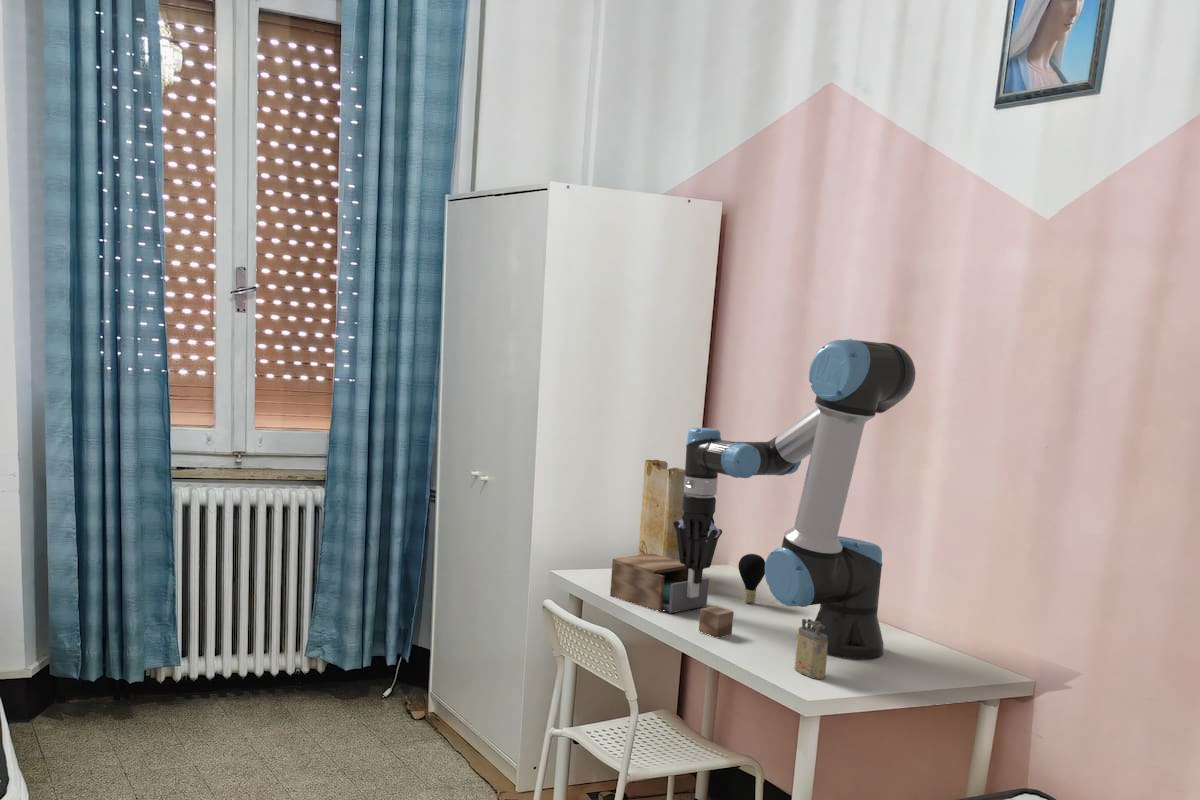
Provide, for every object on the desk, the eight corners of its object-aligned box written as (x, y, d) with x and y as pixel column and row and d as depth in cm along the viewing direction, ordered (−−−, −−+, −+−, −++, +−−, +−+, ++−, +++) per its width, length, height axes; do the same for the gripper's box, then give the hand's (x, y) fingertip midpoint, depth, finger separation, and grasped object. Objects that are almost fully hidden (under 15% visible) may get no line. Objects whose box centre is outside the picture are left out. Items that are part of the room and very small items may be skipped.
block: (731, 634, 209) (733, 611, 209) (716, 638, 206) (718, 614, 206) (713, 628, 213) (715, 605, 213) (698, 632, 209) (700, 609, 209)
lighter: (829, 678, 184) (833, 626, 184) (813, 680, 183) (817, 628, 182) (804, 666, 191) (808, 616, 190) (789, 668, 189) (793, 617, 188)
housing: (698, 603, 233) (701, 566, 233) (659, 611, 224) (662, 573, 223) (649, 588, 245) (652, 553, 244) (610, 595, 235) (612, 558, 235)
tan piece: (634, 566, 269) (642, 458, 268) (656, 566, 271) (664, 459, 269) (659, 588, 247) (668, 469, 245) (682, 588, 248) (691, 470, 246)
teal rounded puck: (666, 593, 237) (667, 578, 236) (692, 600, 231) (693, 586, 231) (644, 597, 231) (645, 583, 231) (670, 605, 225) (671, 590, 225)
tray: (706, 605, 231) (708, 578, 230) (671, 612, 222) (673, 584, 222) (651, 588, 243) (653, 562, 243) (615, 595, 235) (617, 568, 234)
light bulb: (755, 608, 233) (759, 558, 232) (730, 602, 237) (734, 553, 236) (768, 603, 238) (772, 555, 238) (743, 598, 242) (747, 550, 242)
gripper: (668, 491, 226) (661, 592, 228) (711, 500, 217) (703, 605, 219) (689, 490, 232) (682, 588, 233) (732, 498, 223) (724, 600, 224)
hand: (692, 596), depth 226 cm, fingers closed
